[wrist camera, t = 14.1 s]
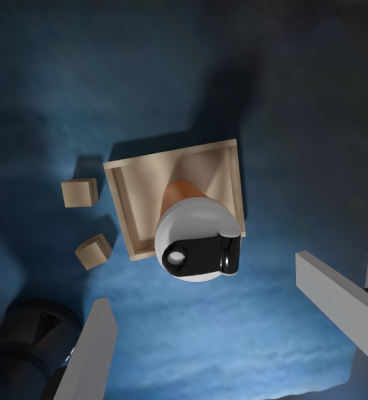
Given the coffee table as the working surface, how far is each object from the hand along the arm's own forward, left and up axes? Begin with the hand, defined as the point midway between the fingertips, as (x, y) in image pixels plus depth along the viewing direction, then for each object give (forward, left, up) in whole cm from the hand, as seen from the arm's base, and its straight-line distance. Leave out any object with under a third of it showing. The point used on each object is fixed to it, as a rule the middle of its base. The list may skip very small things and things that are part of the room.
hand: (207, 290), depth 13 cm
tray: (0, 0, -25) cm, 25 cm away
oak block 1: (-16, +5, -25) cm, 30 cm away
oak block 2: (-17, -6, -25) cm, 31 cm away
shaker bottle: (+1, 0, -24) cm, 24 cm away
